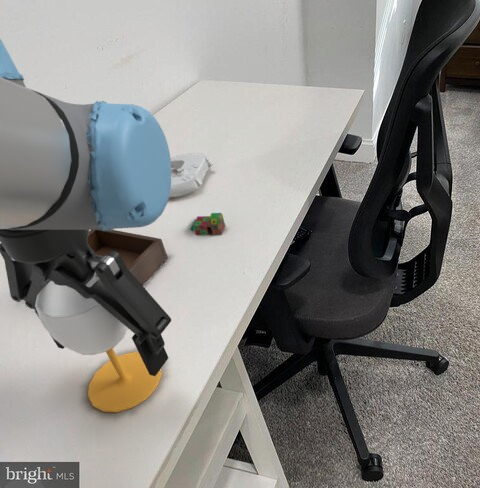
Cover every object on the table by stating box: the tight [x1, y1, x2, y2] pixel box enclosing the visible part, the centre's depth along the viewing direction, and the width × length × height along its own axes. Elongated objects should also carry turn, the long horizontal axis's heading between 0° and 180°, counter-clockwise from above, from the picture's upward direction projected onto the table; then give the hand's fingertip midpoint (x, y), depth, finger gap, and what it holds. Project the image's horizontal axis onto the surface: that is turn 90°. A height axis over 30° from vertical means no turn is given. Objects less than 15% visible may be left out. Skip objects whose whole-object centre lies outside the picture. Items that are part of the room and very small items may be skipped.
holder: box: [88, 229, 169, 286], centre depth 76 cm, size 14×14×4 cm
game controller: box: [169, 152, 214, 198], centre depth 99 cm, size 14×4×10 cm
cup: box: [35, 272, 162, 413], centre depth 56 cm, size 9×9×16 cm
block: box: [190, 212, 226, 236], centre depth 85 cm, size 6×4×3 cm
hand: (112, 352), depth 58 cm, fingers open, 13 cm apart
